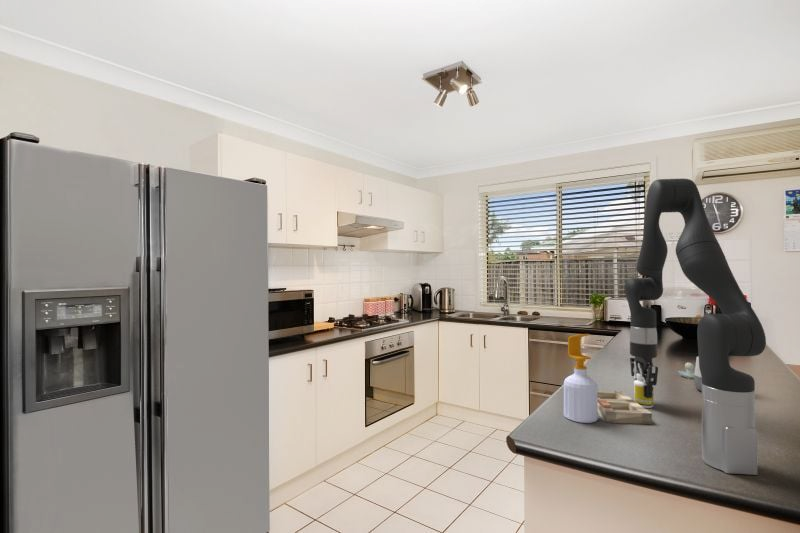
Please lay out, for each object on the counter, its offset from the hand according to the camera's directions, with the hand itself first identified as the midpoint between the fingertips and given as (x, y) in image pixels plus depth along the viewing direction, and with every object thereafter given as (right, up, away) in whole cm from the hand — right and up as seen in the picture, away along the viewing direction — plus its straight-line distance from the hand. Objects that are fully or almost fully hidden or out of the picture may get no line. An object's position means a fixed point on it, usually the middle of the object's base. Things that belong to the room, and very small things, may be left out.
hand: (643, 394), depth 132 cm
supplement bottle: (0, -4, 0) cm, 4 cm away
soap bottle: (-25, -4, -11) cm, 27 cm away
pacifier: (+39, -4, +34) cm, 52 cm away
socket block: (-12, -3, -5) cm, 13 cm away
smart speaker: (+32, -4, +14) cm, 35 cm away
